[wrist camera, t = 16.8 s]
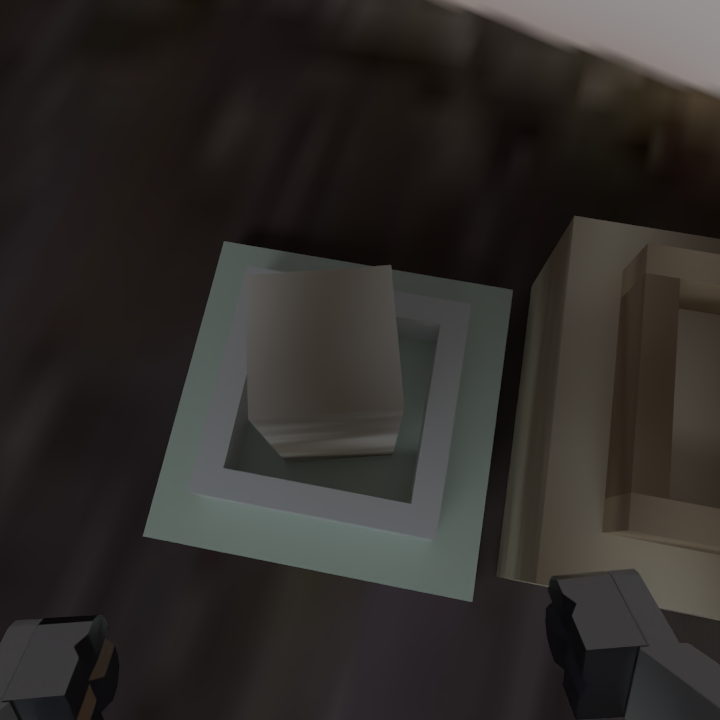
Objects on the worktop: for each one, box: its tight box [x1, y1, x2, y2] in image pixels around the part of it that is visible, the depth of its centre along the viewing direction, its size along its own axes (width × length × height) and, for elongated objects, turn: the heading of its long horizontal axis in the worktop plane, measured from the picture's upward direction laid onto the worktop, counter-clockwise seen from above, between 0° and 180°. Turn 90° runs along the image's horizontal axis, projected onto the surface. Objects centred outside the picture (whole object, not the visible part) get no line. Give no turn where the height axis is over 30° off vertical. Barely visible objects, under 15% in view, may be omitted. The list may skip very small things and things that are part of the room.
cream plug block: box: [245, 265, 405, 462], centre depth 21 cm, size 4×4×8 cm
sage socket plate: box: [143, 241, 513, 602], centre depth 24 cm, size 12×12×4 cm
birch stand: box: [496, 216, 720, 621], centre depth 22 cm, size 12×12×8 cm
